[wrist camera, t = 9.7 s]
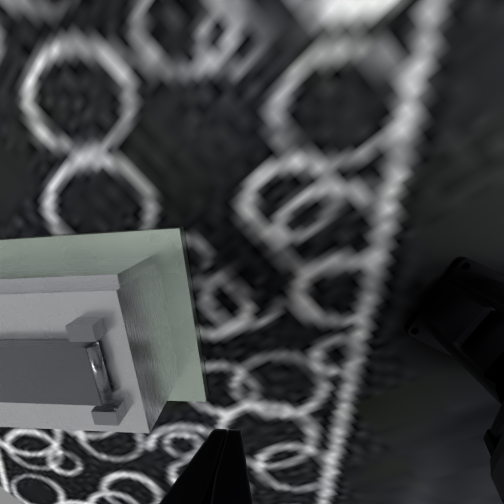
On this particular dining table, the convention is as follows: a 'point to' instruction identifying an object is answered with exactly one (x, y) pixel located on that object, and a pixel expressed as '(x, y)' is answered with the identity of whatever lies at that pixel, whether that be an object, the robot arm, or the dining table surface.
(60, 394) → the dark grey flat bar
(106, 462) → the dining table surface
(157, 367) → the board
